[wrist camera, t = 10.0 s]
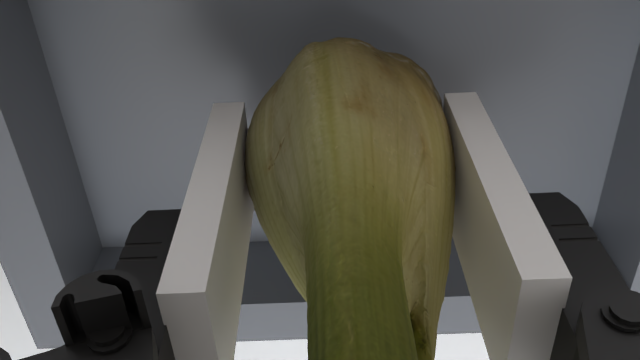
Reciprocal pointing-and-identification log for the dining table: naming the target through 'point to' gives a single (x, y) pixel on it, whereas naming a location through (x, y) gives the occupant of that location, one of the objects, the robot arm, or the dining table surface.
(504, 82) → the bin
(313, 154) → the fennel bulb
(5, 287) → the dining table surface
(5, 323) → the dining table surface
